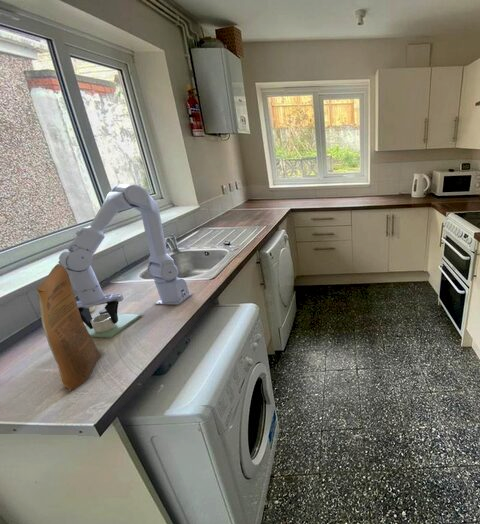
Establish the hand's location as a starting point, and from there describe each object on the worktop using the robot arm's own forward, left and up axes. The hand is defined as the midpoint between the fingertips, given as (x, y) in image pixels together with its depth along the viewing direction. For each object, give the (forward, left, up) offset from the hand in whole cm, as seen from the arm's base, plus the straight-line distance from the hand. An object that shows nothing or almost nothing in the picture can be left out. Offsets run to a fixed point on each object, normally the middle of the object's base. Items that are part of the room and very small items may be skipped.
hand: (104, 324), depth 93 cm
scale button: (+6, -6, 0) cm, 9 cm away
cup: (0, 0, -1) cm, 1 cm away
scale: (+2, -3, -2) cm, 4 cm away
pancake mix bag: (-11, +16, -2) cm, 20 cm away
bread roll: (+21, -10, -2) cm, 23 cm away
